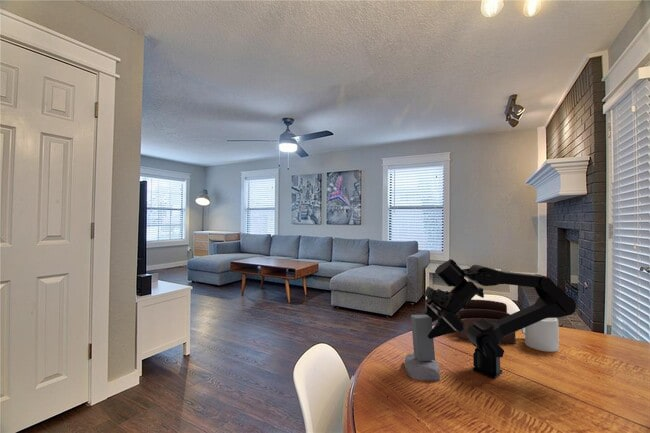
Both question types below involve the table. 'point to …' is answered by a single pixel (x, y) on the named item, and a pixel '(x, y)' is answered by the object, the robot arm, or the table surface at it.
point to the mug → (543, 335)
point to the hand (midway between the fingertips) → (423, 332)
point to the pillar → (422, 337)
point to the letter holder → (483, 316)
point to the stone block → (421, 368)
